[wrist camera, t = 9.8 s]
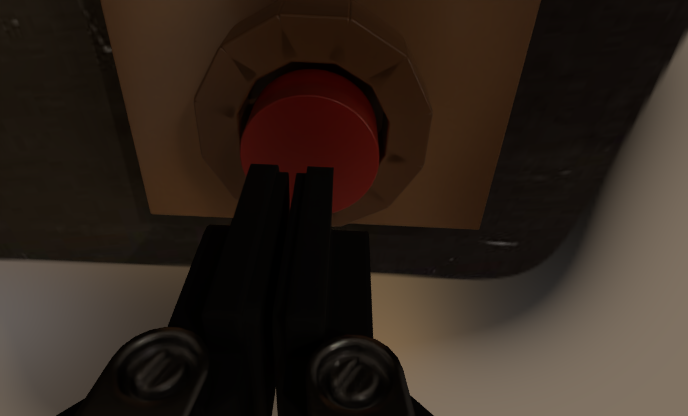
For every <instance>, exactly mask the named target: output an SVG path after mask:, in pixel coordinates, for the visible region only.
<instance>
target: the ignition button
mask: <svg viewBox="0 0 688 416" xmlns="http://www.w3.org/2000/svg"><path fill="white" fill-rule="evenodd" d="M240 161H241V165H242V169H243V172H244V174H245V176H247V173H248V170H249V167H250V165H251V164H272V165H278V166H279V172H288V173H289V194H290V207H291V202H292V196H293V190H294V184H295V178H296V173H306V171H307V166H315V167H334V176H333V202H332V213H335V212H338V211H341V210H343V209H345V208H347V207H349V206H351V205H352V204H354V203H355V202H357V201H358V200H359V199H360V198H362V196H363V195H364V194H365V193H366V192H367V191H368V190H369V188H370V187H371V185H372V184H373V182H374V180H375V177H376V175H377V172H378V167H379V144H378V132H377V121H376V116H375V112H374V109H373V107H372V105H371V103H370V101H369V100H368V98H367V96H366V95H365V94H364V93H363V91H362V90H361V89H360V88H359V87H358V86H356V85H355V84H354V83H353V82H351V81H350V80H349V79H347V78H345V77H343V76H341V75H339V74H336V73H334V72H331V71H326V70H321V69H301V70H295V71H292V72H288V73H286V74H284V75H281V76H279V77H278V78H276V79H275V80H273V81H272V82H271V83H269V84H268V85H267V86H266V87H265V88H264V89H263V90H262V92H261V93H260V95H259V96H258V98H257V100H256V102H255V104H254V106H253V109H252V111H251V114H250V116H249V119H248V121H247V124H246V126H245V129H244V131H243V134H242V138H241V142H240Z"/></svg>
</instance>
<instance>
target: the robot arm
mask: <svg viewBox="0 0 688 416" xmlns="http://www.w3.org/2000/svg"><path fill="white" fill-rule="evenodd" d="M333 176H334V167H315V166H307V171H306V173H296V178H295V184H294V190H293V196H292V202H291V207H290V194H289V173H288V172H279V166H278V165H272V164H251V165H250V167H249V170H248V173H247V176H246V179H245V182H244V185H243V189H242V192H241V195H240V198H239V201H238V204H237V207H236V210H235V213H234V216H233V219H232V222H231V226H225V225H209V226H207V228H206V230H205V231H204V234H203V236H202V239H201V242H200V244H199V247H198V249H197V252H196V255H195V257H194V260H193V262H192V265H191V267H190V270H189V273H188V275H187V278H186V280H185V283H184V286H183V288H182V291H181V293H180V296H179V299H178V301H177V304H176V306H175V309H174V312H173V314H172V317H171V319H170V322H169V324H168V327H163V328H158V329H153V330H149V331H147V332H144V333H142V334H140V335H138V336H135V337H134V338H132V339H131V340H130V341H128V342H127V343H126V344H125V345H123V346H122V347H121V348H120V349H119V350H118V351H117V352H116V354H115V355H114V356H113V357H112V358H111V360H110V361H109V363H108V364H107V366H106V367H105V369H104V370H103V372H102V373H101V375H100V377H99V378H98V380H97V381H96V383H95V384H94V386H93V387H92V389H91V390H90V392H89V393H88V395H87V396H86V398H85V399H83V400H81V401H80V402H78V403H76V404H75V405H73V406H72V407H70V408H68V409H66V410H65V411H63V412H61V413H60V414H58V415H56V416H272V410H273V403H274V396H275V389H276V395H277V410H278V416H433V415H432V414H431V413H430V412H429V411H428V410H427V409H425V408H424V407H423V406H422V405H421V404H420V403H419V402H417V401H416V400H415V399H414V398H413V397H412V396H410V393H409V390H408V386H407V382H406V379H405V375H404V371H403V368H402V366H401V364H400V362H399V360H398V357H397V356H396V355H395V354H394V353H393V352H392V351H391V350H390V349H389V347H387V346H385V345H384V344H382V343H381V342H379V341H378V340H376V339H373V326H372V325H373V323H372V299H371V275H370V252H369V234H368V232H360V231H338V230H331V228H332V202H333Z"/></svg>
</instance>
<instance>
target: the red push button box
mask: <svg viewBox="0 0 688 416" xmlns="http://www.w3.org/2000/svg"><path fill="white" fill-rule="evenodd" d="M100 2H101V7H102V11H103V15H104V19H105V23H106V28H107V32H108V36H109V40H110V44H111V49H112V53H113V57H114V61H115V65H116V70H117V74H118V78H119V82H120V86H121V91H122V95H123V99H124V103H125V107H126V112H127V116H128V120H129V124H130V128H131V133H132V137H133V141H134V145H135V149H136V154H137V158H138V162H139V166H140V170H141V175H142V179H143V183H144V187H145V191H146V196H147V200H148V204H149V208H150V213H151V214H161V215H182V216H203V217H225V218H233V216H234V213H235V210H236V207H237V204H238V201H239V198H240V195H241V192H242V189H243V185H244V182H245V179H246V176H245V174H244V172H243V169H242V165H241V161H240V142H241V138H242V134H243V131H244V129H245V126H246V124H247V121H248V119H249V116H250V114H251V111H252V109H253V106H254V104H255V102H256V100H257V98H258V96H259V95H260V93H261V92H262V90H263V89H264V88H265V87H266V86H267V85H268V84H269V83H271V82H272V81H273V80H275V79H276V78H278V77H279V76H281V75H284V74H286V73H288V72H292V71H295V70H301V69H321V70H326V71H331V72H334V73H336V74H339V75H341V76H343V77H345V78H347V79H349V80H350V81H351V82H353V83H354V84H355V85H356V86H358V87H359V88H360V89H361V90H362V91H363V93H364V94H365V95H366V96H367V98H368V100H369V101H370V103H371V105H372V107H373V109H374V112H375V116H376V121H377V132H378V144H379V167H378V172H377V175H376V177H375V180H374V182H373V184H372V185H371V187H370V188H369V190H368V191H367V192H366V193H365V194H364V195H363V196H362V198H360V199H359V200H358V201H357V202H355V203H354V204H352V205H351V206H349V207H347V208H345V209H343V210H341V211H338V212H335V213H332V226H335V227H337V226H340V227H341V226H344V225H346V224H349V223H351V224H372V225H394V226H415V227H436V228H457V229H479V228H480V224H481V220H482V217H483V213H484V209H485V205H486V202H487V198H488V194H489V191H490V187H491V183H492V180H493V176H494V172H495V168H496V165H497V161H498V157H499V154H500V150H501V146H502V143H503V139H504V135H505V131H506V128H507V124H508V120H509V117H510V113H511V109H512V105H513V102H514V98H515V94H516V91H517V87H518V83H519V80H520V76H521V72H522V68H523V65H524V61H525V57H526V54H527V50H528V46H529V43H530V39H531V35H532V31H533V28H534V24H535V20H536V17H537V13H538V9H539V6H540V2H541V0H100Z"/></svg>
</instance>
